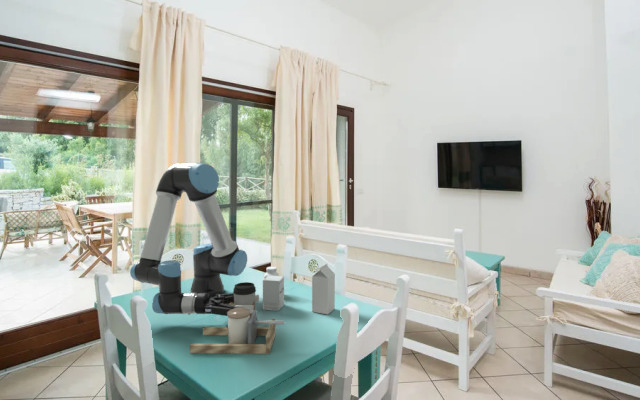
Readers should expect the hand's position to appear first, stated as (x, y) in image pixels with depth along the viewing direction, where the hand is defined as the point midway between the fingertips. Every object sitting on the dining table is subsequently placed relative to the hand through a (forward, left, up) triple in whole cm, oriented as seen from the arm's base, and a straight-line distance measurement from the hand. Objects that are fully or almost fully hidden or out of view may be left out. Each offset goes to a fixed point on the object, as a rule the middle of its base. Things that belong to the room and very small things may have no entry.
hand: (256, 303), depth 131 cm
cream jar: (+2, -15, -8) cm, 17 cm away
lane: (+1, -15, -8) cm, 17 cm away
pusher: (+11, -11, -8) cm, 18 cm away
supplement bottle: (-10, +31, -8) cm, 33 cm away
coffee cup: (-4, -1, -8) cm, 9 cm away
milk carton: (+19, +22, -8) cm, 30 cm away
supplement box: (-2, +18, -8) cm, 20 cm away
